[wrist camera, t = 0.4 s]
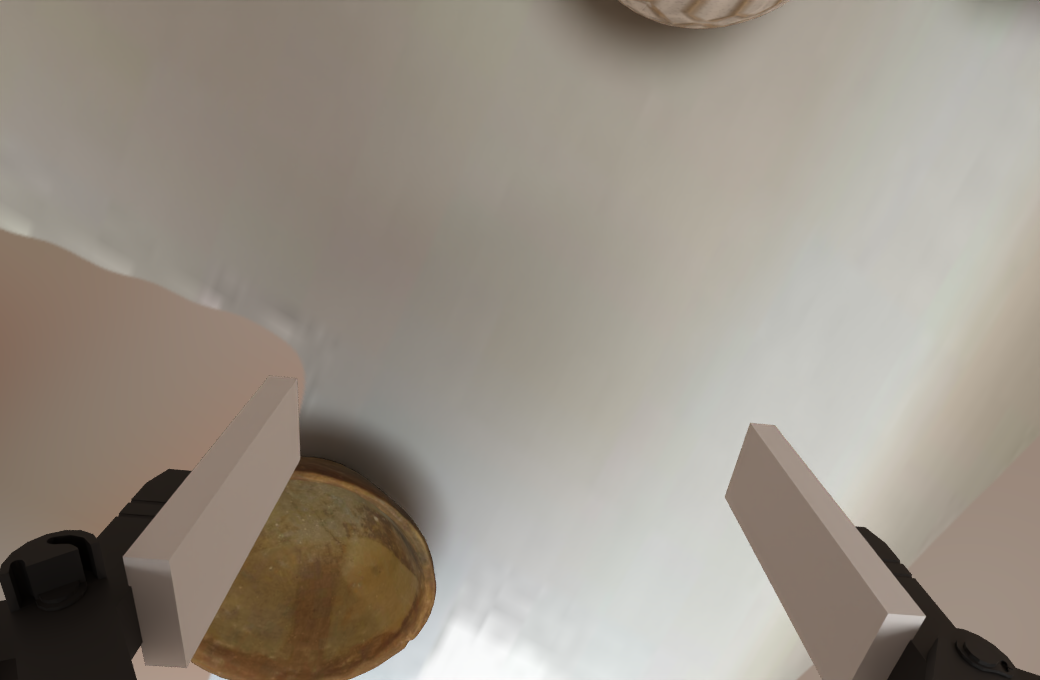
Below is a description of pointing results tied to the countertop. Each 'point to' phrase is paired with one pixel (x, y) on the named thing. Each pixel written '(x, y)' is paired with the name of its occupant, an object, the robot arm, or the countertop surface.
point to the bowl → (323, 584)
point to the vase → (702, 11)
